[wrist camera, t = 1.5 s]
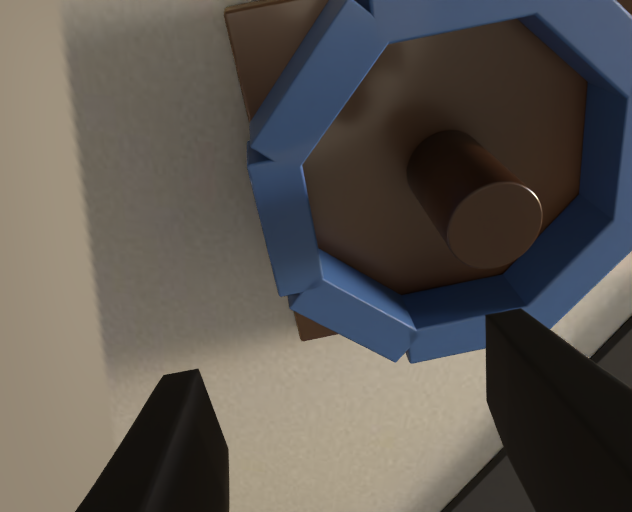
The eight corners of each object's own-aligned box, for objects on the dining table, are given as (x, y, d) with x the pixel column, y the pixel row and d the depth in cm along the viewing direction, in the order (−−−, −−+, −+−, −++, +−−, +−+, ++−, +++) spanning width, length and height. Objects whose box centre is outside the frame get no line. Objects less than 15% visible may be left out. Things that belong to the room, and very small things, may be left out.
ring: (296, 348, 20) (301, 387, 18) (213, 4, 14) (208, 14, 12) (609, 283, 20) (643, 316, 18) (652, -84, 14) (708, -86, 13)
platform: (298, 325, 21) (313, 428, 16) (223, 7, 15) (216, 37, 11) (589, 265, 21) (678, 352, 17) (621, -73, 15) (768, -74, 11)
